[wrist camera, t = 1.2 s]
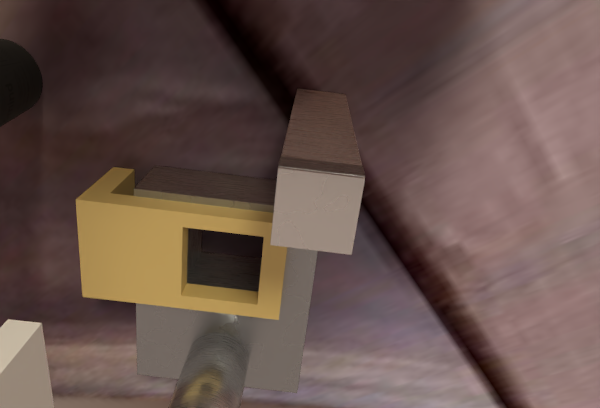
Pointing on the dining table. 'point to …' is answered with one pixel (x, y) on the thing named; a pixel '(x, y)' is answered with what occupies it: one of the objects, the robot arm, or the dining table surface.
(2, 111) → the drinking cup
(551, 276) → the dining table surface
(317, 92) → the pin
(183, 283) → the bracket
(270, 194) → the gray post on base
